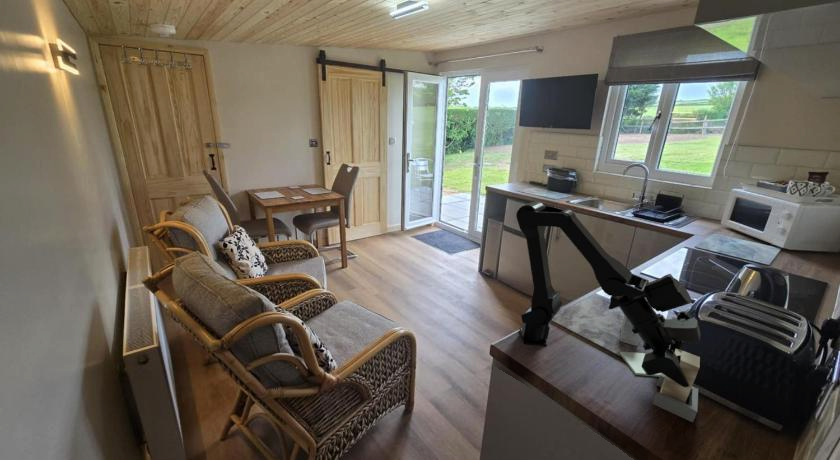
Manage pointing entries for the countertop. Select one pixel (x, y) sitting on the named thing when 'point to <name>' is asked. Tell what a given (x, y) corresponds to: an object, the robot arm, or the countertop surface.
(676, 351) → the block
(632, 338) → the medicine box
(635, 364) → the sage pad
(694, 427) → the countertop surface
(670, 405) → the grey holder
